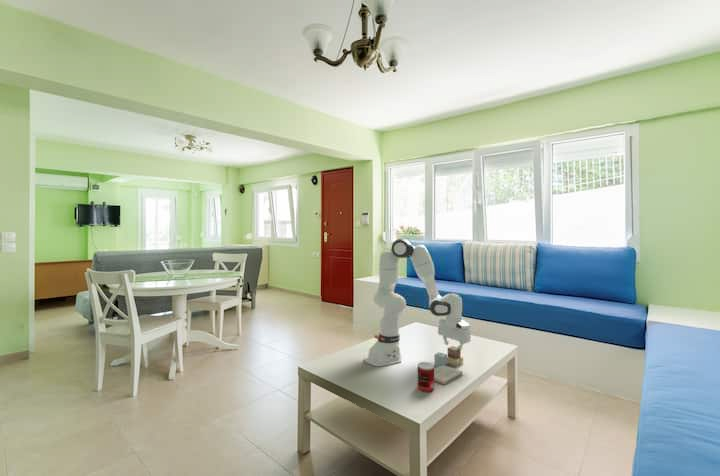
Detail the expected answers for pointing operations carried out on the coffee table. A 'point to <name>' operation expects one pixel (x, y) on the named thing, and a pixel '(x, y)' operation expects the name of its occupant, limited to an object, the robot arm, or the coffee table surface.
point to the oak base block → (455, 361)
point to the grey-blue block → (440, 359)
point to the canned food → (426, 377)
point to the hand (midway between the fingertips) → (453, 346)
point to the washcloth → (446, 374)
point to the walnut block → (454, 352)
